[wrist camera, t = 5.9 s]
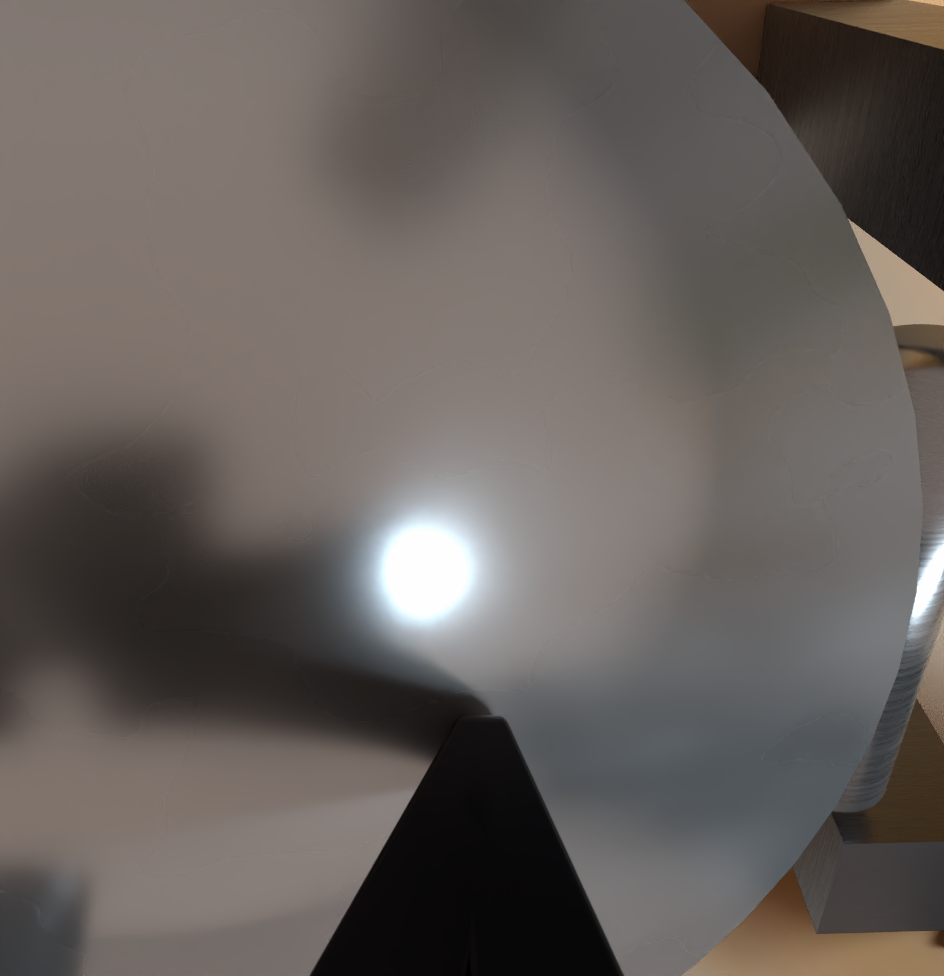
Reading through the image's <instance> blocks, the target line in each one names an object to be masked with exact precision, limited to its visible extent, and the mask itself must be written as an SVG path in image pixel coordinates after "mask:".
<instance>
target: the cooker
mask: <svg viewBox="0 0 944 976" xmlns="http://www.w3.org/2000/svg"><path fill="white" fill-rule="evenodd" d="M757 81H758V82H759V83H760V84H761V85H762V86H763V88H764V89H765V90H766V91H767V92H768V93H769V95H770V96H771V98H772V99H773V101H774V103H775V104H776V106H777V107H778V109H779V110H780V112H781V113H782V115H783V116H784V118H785V119H786V121H787V122H788V124H789V126H790V127H791V129H792V130H793V132H794V133H795V135H796V136H797V138H798V139H799V141H800V142H801V144H802V145H803V147H804V148H805V150H806V152H807V153H808V155H809V156H810V158H811V159H812V161H813V162H814V164H815V165H816V167H817V168H818V170H819V171H820V173H821V174H822V176H823V178H824V179H825V181H826V182H827V184H828V185H829V187H830V188H831V190H832V191H833V193H834V194H835V196H836V197H837V199H838V201H839V202H840V204H841V205H842V207H843V209H844V212H845V214H846V216H847V218H848V219H850V220H851V221H852V222H854V223H855V224H856V225H858V226H859V227H860V228H861V229H863V230H864V231H865V232H867V233H868V234H869V235H871V236H872V237H873V238H875V239H876V240H877V241H879V242H880V243H881V244H882V245H884V246H885V247H886V248H888V249H889V250H890V251H892V252H893V253H894V254H896V255H897V256H898V257H900V258H901V259H902V260H904V261H905V262H906V263H907V264H909V265H910V266H911V267H913V268H914V269H915V270H917V271H918V272H919V273H921V274H922V275H923V276H925V277H926V278H927V279H929V280H930V281H931V282H932V283H934V284H935V285H936V286H938V287H939V288H940V289H942V290H943V291H944V7H943V6H937V5H932V4H926V3H920V2H914V1H909V0H858V1H826V2H795V3H768V4H767V12H766V19H765V27H764V34H763V42H762V49H761V57H760V64H759V72H758V80H757ZM793 869H794V872H795V875H796V877H797V880H798V883H799V886H800V889H801V892H802V894H803V897H804V900H805V903H806V906H807V909H808V911H809V914H810V917H811V920H812V923H813V925H814V928H815V931H816V934H828V933H863V932H899V931H935V930H944V744H943V743H942V741H941V739H940V737H939V736H938V734H937V732H936V731H935V729H934V727H933V726H932V724H931V722H930V721H929V719H928V717H927V715H926V714H925V712H924V710H923V709H922V707H921V705H920V704H919V702H918V700H917V699H916V701H915V704H914V707H913V710H912V713H911V716H910V719H909V722H908V725H907V728H906V730H905V733H904V736H903V739H902V742H901V745H900V748H899V751H898V754H897V757H896V760H895V763H894V766H893V769H892V772H891V775H890V778H889V781H888V784H887V787H886V790H885V793H884V795H883V797H882V798H881V800H880V801H879V802H878V803H877V804H875V805H874V806H872V807H871V808H868V809H866V810H863V811H859V812H851V813H843V812H835V811H832V812H831V814H830V815H829V816H828V818H827V819H826V821H825V822H824V823H823V825H822V826H821V827H820V829H819V830H818V832H817V833H816V834H815V836H814V837H813V839H812V840H811V841H810V843H809V844H808V846H807V847H806V848H805V850H804V851H803V853H802V854H801V855H800V857H799V858H798V860H797V861H796V862H795V864H794V865H793Z"/></svg>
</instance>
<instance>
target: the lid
mask: <svg viewBox="0 0 944 976" xmlns="http://www.w3.org/2000/svg"><path fill="white" fill-rule="evenodd" d="M943 617H944V326H941V325H926V324H913V325H901V326H894V327H893V326H892V322H891V318H890V314H889V311H888V309H887V307H886V305H885V302H884V300H883V298H882V296H881V293H880V291H879V289H878V286H877V284H876V282H875V280H874V277H873V275H872V273H871V271H870V268H869V266H868V264H867V262H866V259H865V257H864V255H863V252H862V250H861V248H860V246H859V243H858V241H857V239H856V237H855V234H854V232H853V230H852V228H851V225H850V223H849V221H848V219H847V216H846V214H845V212H844V209H843V207H842V205H841V204H840V202H839V201H838V199H837V197H836V196H835V194H834V193H833V191H832V190H831V188H830V187H829V185H828V184H827V182H826V181H825V179H824V178H823V176H822V174H821V173H820V171H819V170H818V168H817V167H816V165H815V164H814V162H813V161H812V159H811V158H810V156H809V155H808V153H807V152H806V150H805V148H804V147H803V145H802V144H801V142H800V141H799V139H798V138H797V136H796V135H795V133H794V132H793V130H792V129H791V127H790V126H789V124H788V122H787V121H786V119H785V118H784V116H783V115H782V113H781V112H780V110H779V109H778V107H777V106H776V104H775V103H774V101H773V99H772V98H771V96H770V95H769V93H768V92H767V91H766V90H765V89H764V88H763V86H762V85H761V84H760V83H759V82H758V81H757V80H756V79H755V78H754V76H753V75H752V74H751V73H750V72H749V71H748V70H747V69H746V68H745V67H744V65H743V64H742V63H741V62H740V61H739V60H738V59H737V58H736V57H735V56H734V54H733V53H732V52H731V51H730V50H729V49H728V48H727V47H726V46H725V44H724V43H723V42H722V41H721V40H720V39H719V38H718V37H717V36H716V35H715V33H714V32H713V31H712V30H711V29H710V28H709V27H708V26H707V25H706V24H705V22H704V21H703V20H702V19H701V18H700V17H699V16H698V15H697V14H696V13H695V11H694V10H693V9H692V8H691V7H690V6H689V5H688V4H687V3H686V1H685V0H0V976H309V975H310V973H311V972H312V970H313V968H314V966H315V965H316V963H317V961H318V959H319V958H320V956H321V954H322V952H323V951H324V949H325V947H326V945H327V944H328V942H329V940H330V938H331V937H332V935H333V933H334V932H335V930H336V928H337V926H338V925H339V923H340V921H341V919H342V918H343V916H344V914H345V912H346V911H347V909H348V907H349V905H350V904H351V902H352V900H353V898H354V897H355V895H356V893H357V891H358V890H359V888H360V886H361V885H362V883H363V881H364V879H365V878H366V876H367V874H368V872H369V871H370V869H371V867H372V865H373V864H374V862H375V860H376V858H377V857H378V855H379V853H380V851H381V850H382V848H383V846H384V844H385V843H386V841H387V839H388V838H389V836H390V834H391V832H392V831H393V829H394V827H395V825H396V824H397V822H398V820H399V818H400V817H401V815H402V813H403V811H404V810H405V808H406V806H407V804H408V803H409V801H410V799H411V797H412V796H413V794H414V792H415V791H416V789H417V787H418V785H419V784H420V782H421V780H422V778H423V777H424V775H425V773H426V771H427V770H428V768H429V766H430V764H431V763H432V761H433V759H434V757H435V756H436V754H437V752H438V751H439V749H440V747H441V745H442V744H443V742H444V740H445V738H446V737H447V735H448V733H449V731H450V730H451V728H452V726H453V724H454V723H455V721H456V720H457V719H458V718H459V717H460V716H462V715H499V716H502V717H504V718H505V719H506V720H507V722H508V724H509V726H510V728H511V730H512V732H513V734H514V736H515V739H516V741H517V743H518V745H519V747H520V750H521V752H522V754H523V756H524V758H525V760H526V763H527V765H528V767H529V769H530V771H531V774H532V776H533V778H534V780H535V782H536V784H537V787H538V789H539V791H540V793H541V795H542V797H543V800H544V802H545V804H546V806H547V808H548V811H549V813H550V815H551V817H552V819H553V821H554V824H555V826H556V828H557V830H558V832H559V835H560V837H561V839H562V841H563V843H564V845H565V848H566V850H567V852H568V854H569V856H570V859H571V861H572V863H573V865H574V867H575V869H576V872H577V874H578V876H579V878H580V880H581V883H582V885H583V887H584V889H585V891H586V893H587V896H588V898H589V900H590V902H591V904H592V907H593V909H594V911H595V913H596V915H597V917H598V920H599V922H600V924H601V926H602V928H603V931H604V933H605V935H606V937H607V939H608V941H609V944H610V946H611V948H612V950H613V952H614V954H615V957H616V959H617V961H618V963H619V965H620V968H621V970H622V972H623V974H624V976H681V975H683V974H684V973H685V972H686V971H688V970H689V969H690V968H692V967H693V966H694V965H696V964H697V963H698V962H699V961H700V960H701V959H702V958H703V957H704V956H705V955H706V954H708V953H709V952H710V951H711V950H712V949H713V948H714V947H715V946H716V945H717V944H718V943H719V942H721V941H722V940H723V939H724V938H725V937H726V936H727V935H728V934H729V933H730V932H731V931H733V930H734V929H735V928H736V927H737V926H738V925H739V924H740V923H741V922H742V921H743V920H744V919H746V918H747V917H748V916H749V914H750V913H751V912H752V911H753V910H754V909H755V908H756V907H757V905H758V904H759V903H760V902H761V901H762V900H763V899H764V898H765V896H766V895H767V894H768V893H769V892H770V891H771V890H772V889H773V888H774V886H775V885H776V884H777V883H778V882H779V881H780V880H781V879H782V877H783V876H784V875H785V874H786V873H787V872H788V871H789V870H790V868H791V867H792V866H793V865H794V864H795V862H796V861H797V860H798V858H799V857H800V855H801V854H802V853H803V851H804V850H805V848H806V847H807V846H808V844H809V843H810V841H811V840H812V839H813V837H814V836H815V834H816V833H817V832H818V830H819V829H820V827H821V826H822V825H823V823H824V822H825V821H826V819H827V818H828V816H829V815H830V814H831V812H832V811H835V812H843V813H851V812H859V811H863V810H866V809H868V808H871V807H872V806H874V805H875V804H877V803H878V802H879V801H880V800H881V798H882V797H883V795H884V793H885V790H886V787H887V784H888V781H889V778H890V775H891V772H892V769H893V766H894V763H895V760H896V757H897V754H898V751H899V748H900V745H901V742H902V739H903V736H904V733H905V730H906V728H907V725H908V722H909V719H910V716H911V713H912V710H913V707H914V704H915V701H916V698H917V695H918V692H919V689H920V686H921V683H922V680H923V677H924V674H925V671H926V668H927V665H928V662H929V659H930V656H931V653H932V650H933V647H934V644H935V641H936V638H937V635H938V632H939V629H940V626H941V623H942V620H943Z"/></svg>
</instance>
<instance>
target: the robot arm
mask: <svg viewBox="0 0 944 976" xmlns="http://www.w3.org/2000/svg"><path fill="white" fill-rule="evenodd" d="M309 976H624V974H623V972H622V970H621V968H620V965H619V963H618V961H617V959H616V957H615V954H614V952H613V950H612V948H611V946H610V944H609V941H608V939H607V937H606V935H605V933H604V931H603V928H602V926H601V924H600V922H599V920H598V917H597V915H596V913H595V911H594V909H593V907H592V904H591V902H590V900H589V898H588V896H587V893H586V891H585V889H584V887H583V885H582V883H581V880H580V878H579V876H578V874H577V872H576V869H575V867H574V865H573V863H572V861H571V859H570V856H569V854H568V852H567V850H566V848H565V845H564V843H563V841H562V839H561V837H560V835H559V832H558V830H557V828H556V826H555V824H554V821H553V819H552V817H551V815H550V813H549V811H548V808H547V806H546V804H545V802H544V800H543V797H542V795H541V793H540V791H539V789H538V787H537V784H536V782H535V780H534V778H533V776H532V774H531V771H530V769H529V767H528V765H527V763H526V760H525V758H524V756H523V754H522V752H521V750H520V747H519V745H518V743H517V741H516V739H515V736H514V734H513V732H512V730H511V728H510V726H509V724H508V722H507V720H506V719H505V718H504V717H502V716H499V715H462V716H460V717H459V718H458V719H457V720H456V721H455V723H454V724H453V726H452V728H451V730H450V731H449V733H448V735H447V737H446V738H445V740H444V742H443V744H442V745H441V747H440V749H439V751H438V752H437V754H436V756H435V757H434V759H433V761H432V763H431V764H430V766H429V768H428V770H427V771H426V773H425V775H424V777H423V778H422V780H421V782H420V784H419V785H418V787H417V789H416V791H415V792H414V794H413V796H412V797H411V799H410V801H409V803H408V804H407V806H406V808H405V810H404V811H403V813H402V815H401V817H400V818H399V820H398V822H397V824H396V825H395V827H394V829H393V831H392V832H391V834H390V836H389V838H388V839H387V841H386V843H385V844H384V846H383V848H382V850H381V851H380V853H379V855H378V857H377V858H376V860H375V862H374V864H373V865H372V867H371V869H370V871H369V872H368V874H367V876H366V878H365V879H364V881H363V883H362V885H361V886H360V888H359V890H358V891H357V893H356V895H355V897H354V898H353V900H352V902H351V904H350V905H349V907H348V909H347V911H346V912H345V914H344V916H343V918H342V919H341V921H340V923H339V925H338V926H337V928H336V930H335V932H334V933H333V935H332V937H331V938H330V940H329V942H328V944H327V945H326V947H325V949H324V951H323V952H322V954H321V956H320V958H319V959H318V961H317V963H316V965H315V966H314V968H313V970H312V972H311V973H310V975H309Z"/></svg>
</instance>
